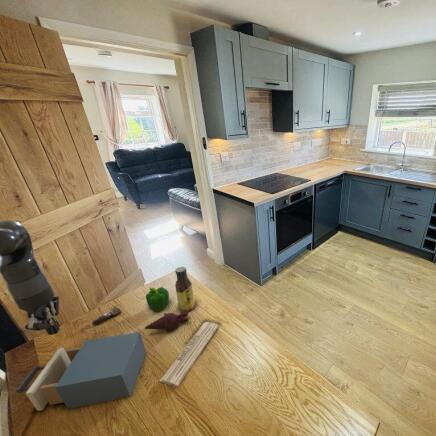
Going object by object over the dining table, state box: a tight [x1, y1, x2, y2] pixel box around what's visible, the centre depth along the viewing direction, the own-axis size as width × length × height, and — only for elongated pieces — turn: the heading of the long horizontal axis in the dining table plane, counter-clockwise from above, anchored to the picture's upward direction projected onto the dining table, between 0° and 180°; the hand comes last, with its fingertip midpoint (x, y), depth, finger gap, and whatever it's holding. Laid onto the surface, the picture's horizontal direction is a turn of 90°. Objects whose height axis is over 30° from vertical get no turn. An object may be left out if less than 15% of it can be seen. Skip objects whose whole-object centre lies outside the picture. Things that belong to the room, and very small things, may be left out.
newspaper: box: [158, 321, 219, 388], centre depth 84 cm, size 24×7×2 cm, turn 165°
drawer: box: [15, 346, 82, 412], centre depth 71 cm, size 20×14×8 cm
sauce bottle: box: [174, 266, 196, 313], centre depth 99 cm, size 7×6×20 cm
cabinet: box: [55, 331, 147, 410], centre depth 73 cm, size 16×15×10 cm
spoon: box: [91, 308, 122, 326], centre depth 96 cm, size 10×3×2 cm, turn 141°
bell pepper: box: [145, 286, 170, 312], centre depth 101 cm, size 8×8×10 cm
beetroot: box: [144, 311, 189, 333], centre depth 92 cm, size 7×7×15 cm
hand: (54, 332), depth 74 cm, fingers closed
